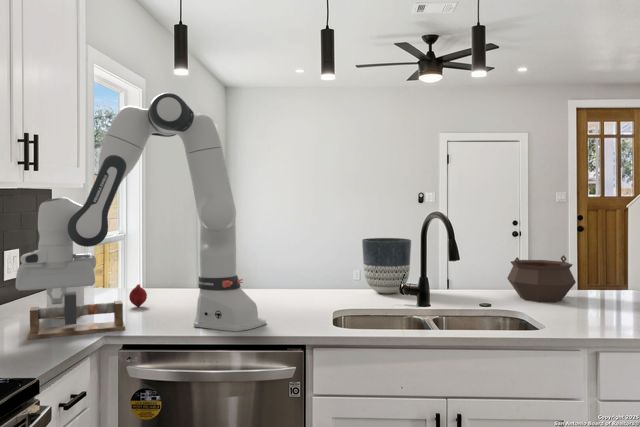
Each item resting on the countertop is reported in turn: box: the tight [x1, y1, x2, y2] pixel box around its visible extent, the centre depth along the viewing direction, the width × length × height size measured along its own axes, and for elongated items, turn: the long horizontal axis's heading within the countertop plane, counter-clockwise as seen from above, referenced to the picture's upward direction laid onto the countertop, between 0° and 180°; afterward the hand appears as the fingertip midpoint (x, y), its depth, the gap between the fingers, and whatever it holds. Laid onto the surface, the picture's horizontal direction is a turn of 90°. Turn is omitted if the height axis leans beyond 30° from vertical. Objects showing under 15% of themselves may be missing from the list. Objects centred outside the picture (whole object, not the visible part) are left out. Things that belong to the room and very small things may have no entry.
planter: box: [361, 237, 412, 295], centre depth 219 cm, size 20×20×21 cm
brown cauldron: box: [506, 254, 577, 303], centre depth 205 cm, size 24×24×16 cm
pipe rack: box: [27, 300, 126, 340], centre depth 157 cm, size 25×8×8 cm, turn 115°
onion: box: [128, 283, 148, 308], centre depth 192 cm, size 6×6×8 cm
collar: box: [64, 292, 78, 326], centre depth 156 cm, size 3×6×8 cm, turn 24°
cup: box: [45, 258, 85, 320], centre depth 179 cm, size 11×11×18 cm
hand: (57, 303), depth 154 cm, fingers closed
